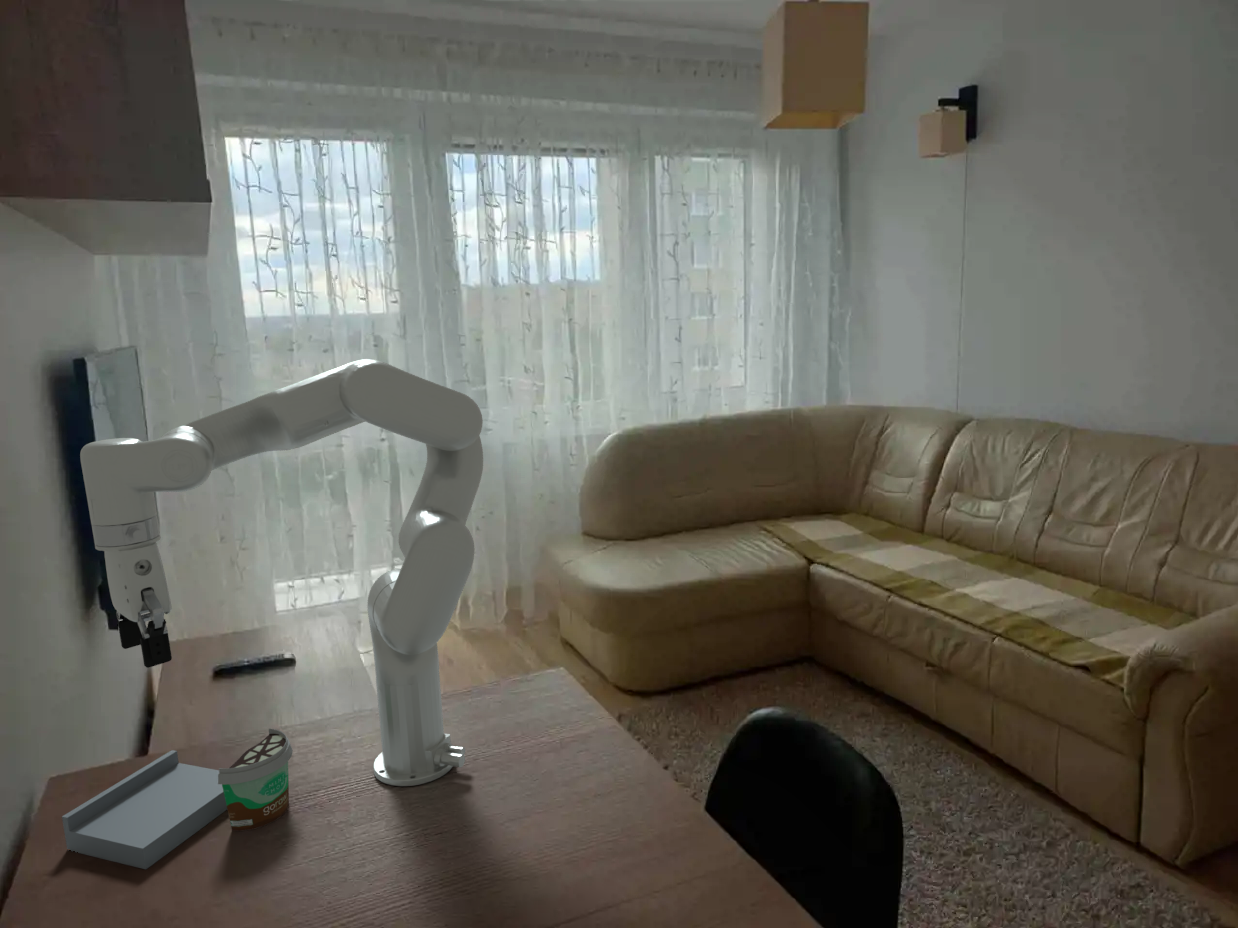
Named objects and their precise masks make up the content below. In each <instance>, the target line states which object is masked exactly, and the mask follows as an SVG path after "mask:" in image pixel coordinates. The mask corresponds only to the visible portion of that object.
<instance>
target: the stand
mask: <svg viewBox="0 0 1238 928" xmlns="http://www.w3.org/2000/svg"><path fill="white" fill-rule="evenodd" d="M178 755H179V754H178V750H173V749H172V750H170V751H168V752H166V753H164V754H162V755H161V756H160V757H158V758H157V759H155V760H153V761H152V762H150V763H148V764H147V765H145V766H143V767H141V768H140V769H138V770H136V771H135V772H133V773H132V774H130V775H128V776H126V777H125V778H123V779H122V780H119V782H117V783H115V784H114V785H111V786H110V787H108V788H107V789H105V790H103V791H102V792H100V793H98V794H97V795H95V796H94V797H92V798H90V799H89V800H87V801H85V802H84V803H82V804H80V805H78V806H77V807H76V808H73V809H72V810H70V811H69V812H67V813H65V814H63V815H62V816H61V821H62V825H63V831H64V838H65V844H66V849H70V850H71V851H70V852H73V851H75V852H74V853H77V852H78V853H77V854H82V855H85V856H90V857H94V858H98V859H101V860H106V861H110V862H113V863H118V864H122V865H125V866H131V867H134V868H139V869H143V870H148V869H149V868H150V867H151V866H153V865H154V864H155V863H157V862H158V861H159V860H161V859H163V857H165V856H166V855H168V854H169V853H170V852H172V851H173V850H175V848H177V847H178V846H180V845H181V844H182V843H184V842H185V841H186V840H188V839H190V837H192V836H193V835H195V834H196V833H198V832H199V831H200V830H201V829H203V828H204V827H205V826H208V824H209V823H211V822H212V821H214V820H215V819H216V818H218V817H219V816H220V815H222V814H223V813H225V812H226V811H228V810H227V805H226V801H225V796H224V792H223V787H222V784H218V774H219V769H215V768H207V767H203V766H198V765H191V764H187V763H181V762H179V756H178Z"/></svg>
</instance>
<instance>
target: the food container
mask: <svg viewBox="0 0 1238 928" xmlns="http://www.w3.org/2000/svg"><path fill="white" fill-rule="evenodd" d="M293 751H294V750H293V747H292V745H291V742H290V739H289V738H288V736H287V735H286V734H285V733H284V732H283V731H281V730H279V729H275V728H268V735H267V736H265V738H263V740H261V741H260V742H258V743H257V744H255V745H254V746H251V747H250V748H248V749H247V750H245V751H244V753H243V754H241V756H240V757H239V758H237V760H236V761H235V762H234V763H233V764H232V765H230V766H229V767H228V768H227V767H226V768H225V767H224V768H222V767H219V768H218V770H219V774H218V784H222V787H223V792H224V796H225V801H226V805H227V810H226V811H227V814H228V819H229V822H230V823H229V824H230V829H231V832H242V831H243V832H245V831H252V830H255V829H259V828H262V827H266V826H267V825H269V824H271V823H274V822H276V821H277V820H279V819H280V818H282V816H283V815H285V814H286V812H287V810H288V809H289V807H290V802H289V801H290V796H289V795H290V794H289V791H290V790H289V789H290V788H289V787H290V785H289V761H290V759H291V758H292V757H293Z"/></svg>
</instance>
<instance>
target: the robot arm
mask: <svg viewBox="0 0 1238 928" xmlns="http://www.w3.org/2000/svg"><path fill="white" fill-rule="evenodd" d="M483 421H484V420H483V415H482V412H481V409H480V407H479V406H478V404H477V403H476V401H475V400H474V399H473V398H471V397H470V396H469V395H467V394H465V393H462V392H460V391H457V390H455V389H451V388H450V387H447V386H444V385H441V384H438V383H436V382H433V381H430V380H428V379H426V378H422V377H420V376H417V375H415V374H413V373H409V372H408V371H405V370H402V369H401V368H398V367H396V366H395V365H392V364H389V363H387V362H384V361H381V360H377V359H373V358H363V359H357V360H355V361H351V362H348V363H346V364H343V365H341V366H338V367H335V368H332V369H330V370H327V371H324V372H321V373H319V374H316V375H314V376H310V377H307V378H305V379H303V380H301V381H297V382H295V383H291V384H289V385H286V386H284V387H280V388H279V389H275V390H273V391H269V392H267V393H264V394H262V395H260V396H257V397H255V398H252V399H250V400H248V401H245V402H242V403H239V404H237V405H234V406H232V407H229V408H224V409H223V410H220V411H218V412H217V411H216V412H215V413H211V414H209V415H207V416H206V415H205V416H204V417H201V418H198V419H196V420H193V421H190V422H187V423H185V424H182V425H179V426H176V427H174V428H171V429H170V430H168V431H166V432H165V433H164V434H163V435H161V436H160V437H159V438H157V439H153V440H152V439H150V440H146V441H145V440H144V441H142V440H140V439H138V438H133V437H120V438H119V437H117V438H108V439H102V440H100V439H99V440H96V441H92V442H89V443H86V444H85V445H84V446H83V447H82V448H81V450H80V454H79V456H80V457H79V458H80V465H81V470H82V475H83V476H82V477H83V482H84V483H83V484H84V488H85V494H86V501H87V506H88V511H89V512H88V513H89V519H90V525H91V530H92V535H93V536H92V537H93V543H94V548H95V550H97V551H100V552H101V551H102V552H104V555H103V558H104V560H105V569H106V578H107V584H108V589H109V595H110V599H111V602H112V605H113V607H114V610H116V618H117V626H118V631H119V632H118V633H119V638H120V644H121V648H122V649H125V650H127V649H131V648H134V647H138V646H140V647H141V654H142V660H143V665H144V667H146V668H147V669H149V668H152V667H156V666H159V665H162V664H165V663H168V662H171V661H172V651H171V644H170V639H169V632H168V631H169V630H168V627H167V626H168V625H167V621H166V619H165V615H169V614H170V613H171V612H172V609H173V608H172V603H171V597H170V591H169V588H168V582H167V578H166V573H165V568H164V565H163V564H164V563H163V561H162V556H161V553H160V550H159V547H158V543H157V542H158V541H160V540H161V532H160V525H159V519H158V512H157V507H156V500H155V494H154V493H155V492H156V493H161V492H163V493H167V492H168V493H180V492H181V493H182V492H187V491H188V492H189V491H192V490H195V489H196V488H199V487H201V486H202V485H204V483H205V482H206V481H207V480H208V478H209V477H210V475H211V473H212V471H214V470H217V469H219V468H223V467H224V466H227V465H230V464H231V463H234V462H237V461H240V460H242V459H245V458H249V457H251V456H254V455H258V454H262V453H267V452H273V451H280V452H281V451H290V450H295V449H300V448H303V447H305V446H307V445H309V444H312V443H314V442H317V441H319V440H322V439H323V438H326V437H328V436H329V437H330V436H331V435H334V434H336V433H339V432H342V431H344V430H347V429H349V428H353V427H355V426H358V425H360V424H362V423H364V422H366V423H368V424H370V425H373V426H375V427H378V428H380V429H383V430H385V431H387V432H391V433H393V434H396V435H400V436H403V437H405V438H407V439H411V440H414V441H416V442H420V443H422V444H424V445H425V447H426V463H425V468H424V471H423V475H422V477H421V480H420V483H419V486H418V488H417V490H416V493H415V495H414V498H413V499H412V502H411V505H410V507H409V509H408V512H407V513H406V516H405V518H404V520H403V522H402V524H401V526H400V529H399V533H398V546H399V549H400V552H401V553H402V555H403V556H404V560H403V563H402V565H401V567H400V568H396V569H391V570H389V571H386V572H384V573H383V574H381V575H380V576H379V577H378V578H377V579H376V580H375V581H374V582H373V584H372V585H371V588H370V590H369V593H368V597H367V613H368V614H367V616H368V617H367V618H368V625H369V627H370V635H371V643H372V650H373V659H374V669H375V670H374V671H375V684H376V694H377V695H376V696H377V707H378V708H377V709H378V717H379V728H380V729H379V730H380V738H381V749H382V750H381V751H382V752H380V753H379V754H378V755H377V757H376V758H375V759H374V761H373V764H372V767H373V774H374V776H375V778H376V779H377V780H379V781H380V783H384V784H386V785H389V786H393V787H394V786H395V787H410V786H411V787H413V786H418V785H423V784H427V783H430V782H433V781H435V780H437V779H439V778H441V777H443V776H444V775H446V774H447V773H448V772H450V770H451V769H452V768H453V767H457V768H463V766H464V765H465V762H466V761H465V760H466V755H465V754H466V747H465V746H459V745H456V746H455V745H453V744H452V742H451V734H450V733H445V732H444V717H443V704H442V692H441V691H442V690H441V689H442V688H441V679H440V660H439V651H438V650H439V649H438V642H439V641H440V639H441V638H442V637H443V635H444V634H445V632H446V631H447V628H448V626H449V624H450V622H451V619H452V617H453V615H454V612H455V610H456V607H457V605H458V602H459V600H460V598H461V595H462V593H463V591H464V589H465V588H464V587H465V586H466V583H467V581H468V578H469V576H470V573H471V571H472V567H473V563H474V559H475V548H476V547H475V541H474V538H473V535H472V533H471V532H470V530H469V528H468V527H467V526H466V523H467V520H468V517H469V514H470V513H471V510H472V507H473V504H474V501H475V498H476V495H477V492H478V489H479V487H480V483H481V480H482V475H483V470H484V450H483V444H482V440H481V432H482V429H483ZM146 622H147V624H146Z"/></svg>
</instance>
